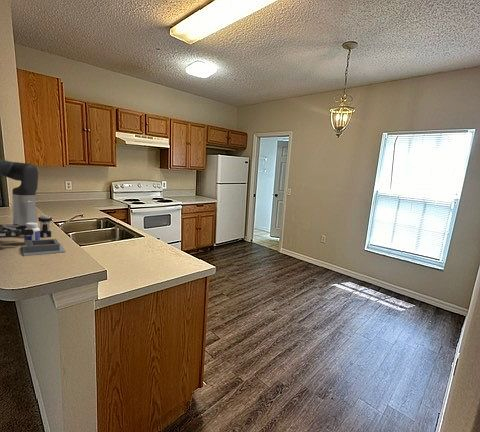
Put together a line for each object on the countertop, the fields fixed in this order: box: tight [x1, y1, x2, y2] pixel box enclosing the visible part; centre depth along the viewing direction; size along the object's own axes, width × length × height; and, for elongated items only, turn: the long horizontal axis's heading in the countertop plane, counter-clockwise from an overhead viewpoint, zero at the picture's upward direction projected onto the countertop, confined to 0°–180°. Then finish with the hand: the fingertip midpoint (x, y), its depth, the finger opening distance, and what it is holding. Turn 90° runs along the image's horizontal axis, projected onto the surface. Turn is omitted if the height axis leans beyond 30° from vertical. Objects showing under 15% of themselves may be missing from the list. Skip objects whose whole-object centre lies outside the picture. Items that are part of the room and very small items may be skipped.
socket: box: [21, 238, 66, 257], centre depth 105 cm, size 13×13×3 cm
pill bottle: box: [23, 222, 41, 246], centre depth 111 cm, size 5×5×9 cm
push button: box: [37, 214, 53, 238], centre depth 122 cm, size 7×5×10 cm
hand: (32, 229), depth 111 cm, fingers open, 8 cm apart
